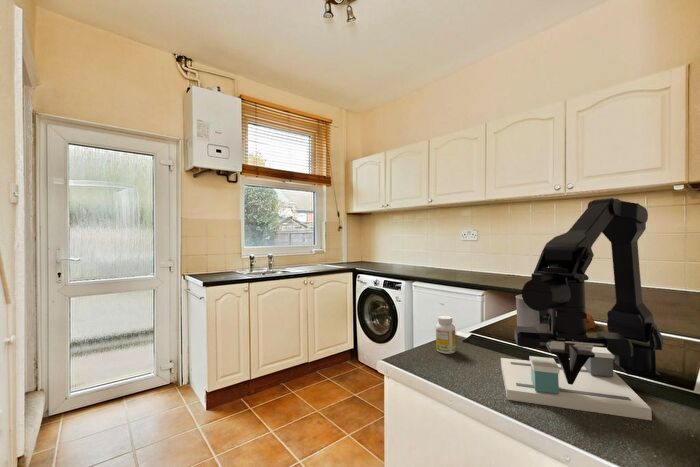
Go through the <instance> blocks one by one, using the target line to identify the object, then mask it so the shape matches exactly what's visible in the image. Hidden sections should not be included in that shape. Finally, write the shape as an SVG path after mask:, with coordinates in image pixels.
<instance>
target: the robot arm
mask: <svg viewBox="0 0 700 467" xmlns="http://www.w3.org/2000/svg"><path fill="white" fill-rule="evenodd" d="M648 218H649V214H648V210H647V208H646V207H645V206H643V205H641V204H640V203H638V202H636V203H635V202H631V201H630V202H629V201H624V200H622V199H621V200H620V199H619V198H614V197H609V198H608V197H607V198H598V199H597V198H596V199H593V200H591V201H589V202H588V203H587V208H586V209H585V210H584V212H583V213H582V214H581V215H580V216H579V218H578V219H577V220H576V221H575V223H574V224H572V226H571V227H570V228H569V230H568V231H567V232H564V233H562V234H559V235H556V236H554V237H553V238H552V239H550V240H549V241H547V243H545V244H544V247H543V249H542V250H541V254H540V256H539V258H538V261H537V264H536V266H535V268H534V271H533V272H532V273H531V279H530V280H528V281H527V282H526V283H524V285H523V287H522V289H521V294H522V298H523V300H524V302H525V304H526V305H527V306H528V307H530V308H531V309H533V310H536V311H537V321H538V324H539V325H547V327H548V330H549V331H551V333H539V332H538V331H537V329H536V328H535V327H524V326H517V325H516V327H514V341H515V343H516V345H517V346H518V347H521V348H528V349H529V348H531V349H537V348H538V347H540V346H539V345H540V342H543V343H546V346H545V347H546V348H547V350H548V351H549V353H550V354H553V355H556V357H557V360H558V362H559V364H560V365H561V367H562V370H563V373H564V375H565V378H566V380H567V383H568V384H571V385H573V383H574V381H575V379H576V378H577V376H578V374H579V372H580V370H581V368H582V367H583V366H584V364H585V363H586V361H587V360H588V359H589V358H594V357H595V354H594V353H593V352H592V349H593V347H603V348H607V350H608V351H609V352H611V353H612V354H613V355H614V359H615V360H614V362H615V365H617V367H619V368H620V369H621V370H622V371H623V372H624V373H626V374H634V375H643V376H654V377H661V375H660V374H661V373H659V372H658V371H657V361H656V357H657V356H656V351H663V348H664V346H663V345H664V337H663V336H662V333H661V332H660V330H659V328H658V326H657V324H656V323H655V322H654V315H653V313H652V311H651V310H650V309H649V308H648V307H647V306H646V305H645V303H644V302H643V295H642V294H643V293H642V282H641V280H642V279H641V269H640V268H641V266H640V256H639V246H638V245H639V244H638V241H639V239H640V238H641V237H642V235H643V234H644V232H645V231H646V229H647V227H646V226H647V225H646V224H647V222H648V220H649V219H648ZM601 234H603V236H605V238H607V240H608V241H609V242H610V245H611V247H610V248H611V257H612V258H611V259H612V269H613V280H614V282H613V283H614V292H615V293H614V294H615V303H614V305H613V306H612V307H611V309H610V310H608V311H607V313H606V314H607V322H606V327H607V332H605V331H597V332H596V336H593V335H587V329H586V319H587V313H588V312H587V313H585V311H586V290H585V289H586V288H585V285H586V284H585V282H586V281H588V280H589V276H588V275H587V274H586V272H587V270H588V268H589V266H590V265H591V263H592V261H593V258H594V256H595V255H594V252H593V249H592V247H593V245H594V244H595V242H596V241H597V240H598V239H599V237H600V236H601ZM548 309H550V313H548ZM566 345H568V347H569V352H568V350H567V349H566Z"/></svg>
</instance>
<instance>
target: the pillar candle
mask: <svg viewBox="0 0 700 467" xmlns="http://www.w3.org/2000/svg"><path fill="white" fill-rule="evenodd" d="M515 300H516V301H515V302H516V303H515V304H516V327H517V326H524V327H535V328H536V329H537V331H538V332H539V333H551V331H549V330H548V327H547V325H539V324H538V321H537V311H536V310H533V309H531V308H530V307H528V306H527V305H526V304H525V302H524V300H523V298H522V293H521V294H517V295H516V296H515ZM548 313H550V309H548ZM541 346H545V347H547V346H546V343H543V342H540V345H539V346H538V347H541Z"/></svg>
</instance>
